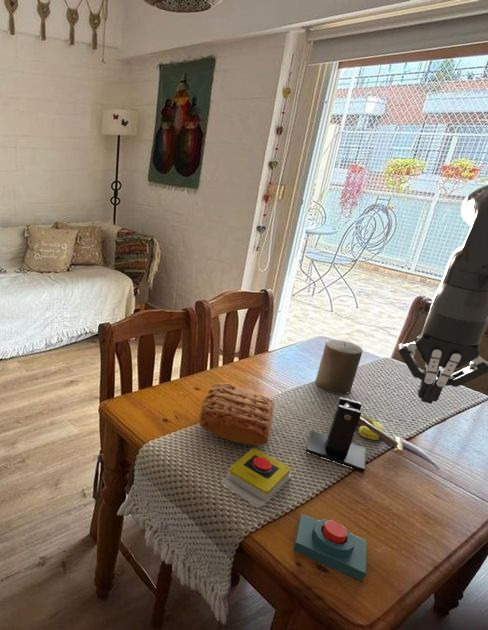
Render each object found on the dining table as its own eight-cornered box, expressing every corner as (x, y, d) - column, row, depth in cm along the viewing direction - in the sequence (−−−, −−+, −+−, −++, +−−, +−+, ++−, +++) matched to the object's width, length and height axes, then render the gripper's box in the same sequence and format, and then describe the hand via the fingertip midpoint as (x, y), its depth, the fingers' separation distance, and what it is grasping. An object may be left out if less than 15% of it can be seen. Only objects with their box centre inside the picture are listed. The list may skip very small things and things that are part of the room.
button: (345, 533, 81) (347, 526, 80) (344, 547, 78) (346, 540, 77) (323, 524, 82) (325, 517, 82) (321, 537, 80) (323, 530, 79)
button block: (363, 548, 82) (369, 533, 80) (362, 582, 76) (369, 566, 74) (299, 521, 87) (303, 506, 86) (293, 550, 81) (298, 535, 80)
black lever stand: (364, 451, 107) (381, 404, 102) (363, 473, 100) (381, 423, 95) (309, 433, 113) (323, 388, 108) (305, 453, 106) (319, 405, 101)
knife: (449, 466, 103) (343, 411, 123) (453, 457, 102) (345, 403, 122) (433, 478, 99) (327, 419, 119) (437, 468, 98) (329, 411, 118)
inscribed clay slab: (263, 463, 102) (270, 435, 99) (190, 439, 110) (194, 412, 107) (274, 415, 120) (280, 390, 117) (211, 397, 128) (215, 373, 125)
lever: (397, 445, 101) (405, 439, 100) (397, 457, 97) (406, 451, 96) (339, 405, 105) (347, 399, 104) (338, 415, 101) (345, 409, 100)
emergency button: (296, 461, 97) (264, 493, 88) (292, 476, 99) (260, 510, 90) (257, 439, 104) (222, 468, 94) (253, 454, 105) (219, 484, 96)
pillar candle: (350, 398, 129) (364, 352, 124) (313, 388, 134) (325, 344, 128) (350, 383, 137) (364, 340, 131) (315, 374, 142) (327, 332, 136)
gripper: (412, 309, 72) (382, 399, 79) (520, 328, 66) (478, 423, 72) (408, 296, 78) (381, 380, 85) (508, 312, 71) (469, 402, 78)
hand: (425, 400), depth 78 cm, fingers closed
